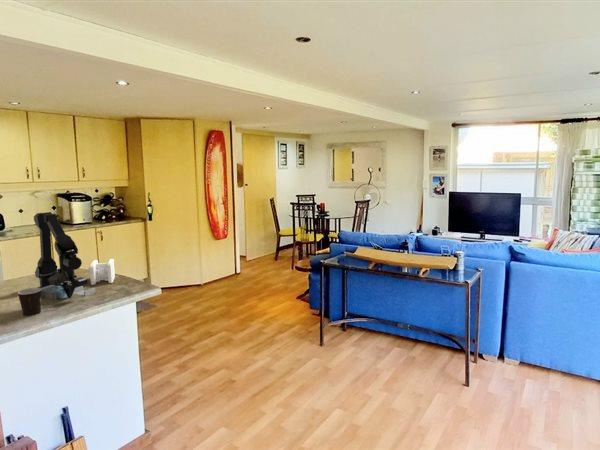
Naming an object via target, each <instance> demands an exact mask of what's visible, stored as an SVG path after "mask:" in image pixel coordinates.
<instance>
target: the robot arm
mask: <svg viewBox="0 0 600 450" xmlns="http://www.w3.org/2000/svg"><path fill="white" fill-rule="evenodd" d="M33 221H34V224H35V226H36V227H37V228H38V230H39V242H40V245H39V246H40V247H39V249H40V258H39V259H38V261H37V266H36V269H35V272H34V275H35V277H36V278H38V280H39V286H38V287H36V288H43V287H46V286H49V285H55V286H61V287H62V288H63V289H64V291H65V293H66V295H67V297H66V298H67V299H71V298H72V297H73V292H74V290H75V288H78V287H81V286H85V285H87V284H89V280H88V278H87V277H83V276H79V277H78V276H77V275H76V274H75V270H78V269H80V268H81V266H82V265H83V263H82V259H81V258H79V257H78V256H77V254H79V250H78V247H77V245H76V243H75V241H74V240H73V238H72V237H71V236H70V235H69V234H66V233H65V231H64V229H63V227H62V225H61V223H60V221H59V219H58V215H57V213H52V211H48V212H45V211H44V212H37V213H36V214H35V215H34V216H33ZM51 234H52V236H53V238H54V249H55V252H56V253H57V256H58V262H59V268H58V265H57V262H56V261H55V259H54V258H53V255H52V252H53V251H52V236H51Z"/></svg>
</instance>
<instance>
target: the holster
mask: <svg viewBox="0 0 600 450" xmlns="http://www.w3.org/2000/svg"><path fill="white" fill-rule="evenodd" d="M94 293H96V287H92V288H89V289H87V290H84V285H82V286H79V287H76V288H75V290H74V292H73V294H74V295H80V296H88V295H91V294H94ZM73 294H72V295H73Z"/></svg>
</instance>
